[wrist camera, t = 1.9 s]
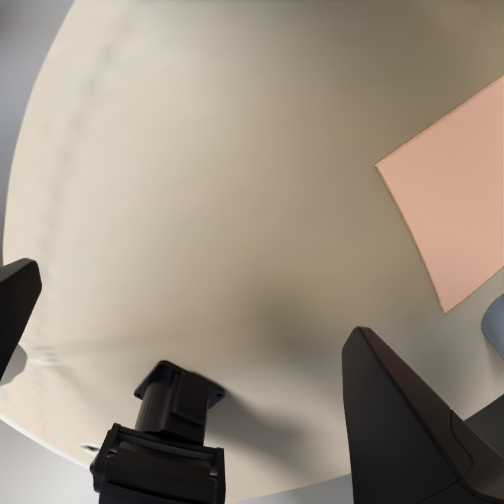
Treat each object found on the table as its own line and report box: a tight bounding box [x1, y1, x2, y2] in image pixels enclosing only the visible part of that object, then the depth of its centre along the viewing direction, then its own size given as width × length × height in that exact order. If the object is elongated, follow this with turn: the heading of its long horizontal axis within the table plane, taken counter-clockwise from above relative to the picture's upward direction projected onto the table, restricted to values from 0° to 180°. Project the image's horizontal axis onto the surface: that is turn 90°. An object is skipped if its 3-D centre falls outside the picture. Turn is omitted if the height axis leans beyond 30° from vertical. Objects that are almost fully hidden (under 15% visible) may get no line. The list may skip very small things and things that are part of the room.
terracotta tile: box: [374, 75, 504, 313], centre depth 17 cm, size 14×14×1 cm
